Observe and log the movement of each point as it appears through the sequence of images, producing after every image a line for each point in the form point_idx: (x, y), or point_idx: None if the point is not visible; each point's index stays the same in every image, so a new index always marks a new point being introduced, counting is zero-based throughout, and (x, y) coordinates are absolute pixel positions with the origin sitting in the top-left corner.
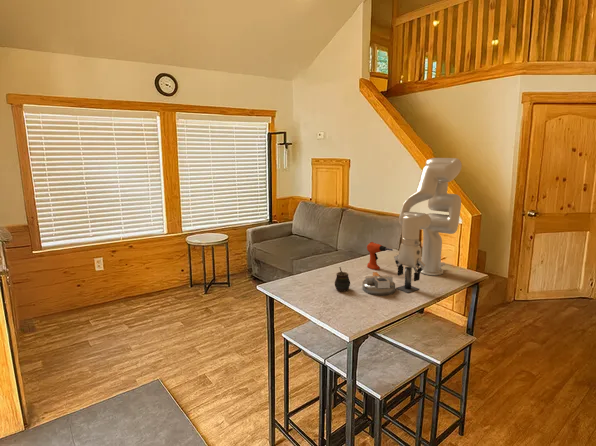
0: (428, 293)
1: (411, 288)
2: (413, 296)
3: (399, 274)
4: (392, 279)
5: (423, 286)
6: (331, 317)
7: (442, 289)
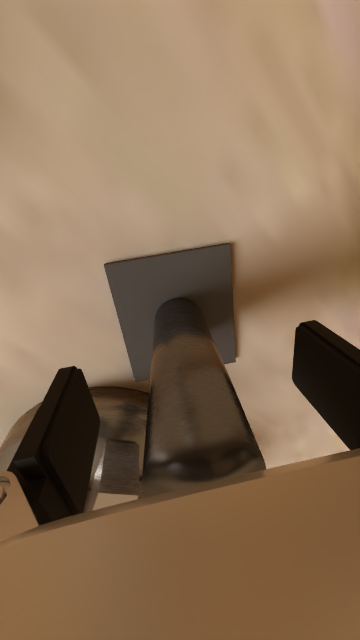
0: (317, 235)
1: (194, 297)
2: (284, 357)
3: (96, 420)
4: (138, 471)
5: (192, 142)
6: None
7: (354, 6)
